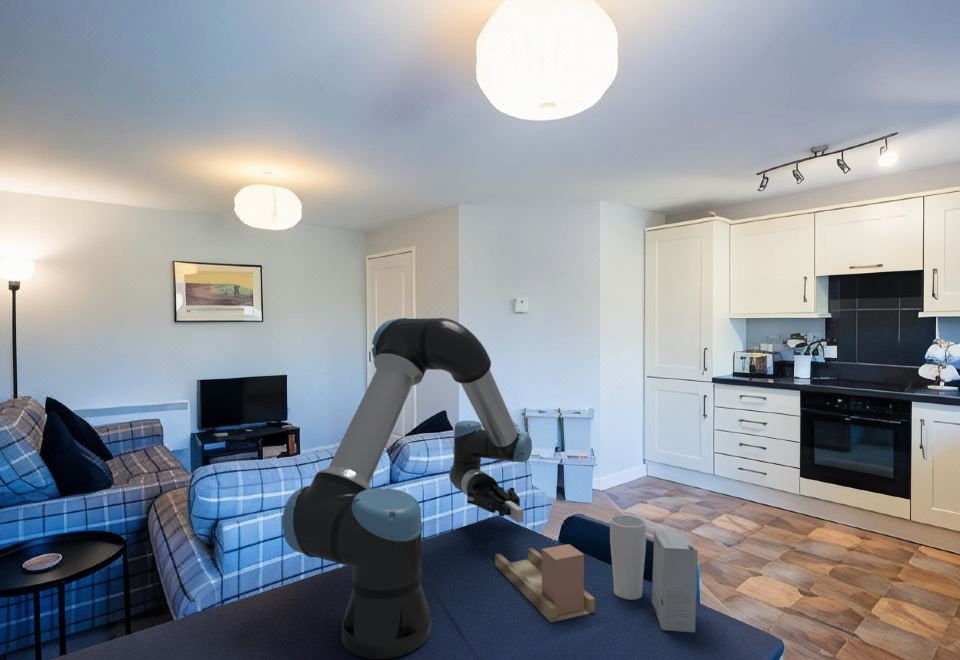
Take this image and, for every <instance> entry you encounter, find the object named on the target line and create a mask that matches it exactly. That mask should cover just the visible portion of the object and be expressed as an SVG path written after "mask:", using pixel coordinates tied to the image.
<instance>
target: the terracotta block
mask: <svg viewBox="0 0 960 660" xmlns="http://www.w3.org/2000/svg"><path fill="white" fill-rule="evenodd" d="M541 555H542V594H544V595H545V596H546V597H547V598H548V599H549V600H550V601H551V602H552V603H553V604H554V605H555V606H556V607H557V615H562V614H566V613H570V612H574V611H579V610H583V609H584V590H585V554H584V553H583V552H582V551H580V550H579V549H577V548H576V547H574V546H573V545H571V543H567V544H563V545H556V546H551V547H545V548H541Z"/></svg>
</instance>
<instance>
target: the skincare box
mask: <svg viewBox="0 0 960 660" xmlns="http://www.w3.org/2000/svg"><path fill="white" fill-rule="evenodd" d="M653 534H654V535H653V558H652V560H653V561H652V585H651V586H652V587H651V590H652V591H651V603H652V605H653V608H654V610H655V611H654V613H655V615H656V617H657V620H658V623H659V625H660V628H661V630H662V631H669V632H670V631H672V632H681V633H682V632H683V633H696V618H697V617H696V614H697V613H696V611H697V587H698V586H697V585H698V584H697V583H698V553H699V551H698V549H697V548H696V547H695V545H694V544H693V542H692V539H691V538H689V536H687V534H686V532H684V531H683V530H668V529H667V530H665V529H653Z"/></svg>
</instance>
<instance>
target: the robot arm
mask: <svg viewBox="0 0 960 660" xmlns="http://www.w3.org/2000/svg"><path fill="white" fill-rule="evenodd" d="M374 333H375V334H374V335H373V338H372V342H371V343H372V346H373V347H372V348H371V353H372V357H373V365H374V368H375V372H374V374H373V376H372V378H371V380H370V383H369V384H368V387H367V389H366V390H365V392H364V395H363V396H362V399H361V401H360V403H359V405H358V407H357V409H356V411H355V413H354V415H353V416H352V417H353V418H352V419H351V421H350V422H349V424H348V426H347V429H346V431H345V433H344V435H343V437H342V439H341V441H340V443H339V445H338V447H337V449H336V452H335V453H334V455H333V458H331V461H330V463H329V466H328V467H327V468H324V469H321V470H319V471H317V472H316V474H315V476H314V478H313V480H312V481H311V484H310V485H306V486H302V487H300V488H299V489H298V490H297V489H296V490H295V491H294V492H293V493H292V494H291V496H290V497H289V498H288V499H287V501H286V504H285V505H284V506H285V507H284V509H283V512H282V518H281V526H282V527H281V528H282V530H283V537H284V540H285V542H286V544H287V545H288V546H289V548H291V549H292V550H294V551H295V552H298V553H300V554H303V555H305V556H307V557H308V558H318V559H322V560H326V561H329V562H333V563H336V564H340V565H344V566H347V567H351V568H352V589H351V594H350V598H349V601H348V603H347V606H346V610H345V613H344V616H343V619H342V623H341V642H342V645H343V647H344V648H345V649H346V650H347V651H349V653H351V654H353V655H355V656H357V657H359V658H365V659H371V660H386V659H394V658H397V657H402V656H404V655H407V654H410V653H412V652H414V651H416V650H417V649H419V648H421V647H422V646H423V645H424V644H425V643H426V642H427V641H428V639H429V637H430V635H431V632H432V617H431V615H432V614H431V611H430V609H429V608H430V607H429V605H428V601H427V599H426V596H425V593H424V589H423V586H422V531H423V521H422V513H421V511H422V510H421V506H420V504H419V502H418V500H417V499H416V498H415V497H414V496H412V495H411V494H410V493H407V492H404V491H402V490H399V489H395V488H388V487H387V488H380V487H375V488H371V486H370V483H371V481H372V478H373V477H374V474H375V472H376V469H377V467H378V465H379V462H380V460H381V458H382V455H383V454H384V451H385V449H386V447H387V445H388V442H389V440H390V437H391V435H392V432H393V430H394V428H395V426H396V423H397V422H398V418H399V416H400V415H401V412H402V410H403V409H404V408H403V407H404V405H405V403H406V400H407V398H408V396H409V393H410V392H411V389H412V387H413V386H415V385H419V384H420V383H422V380H423V378H424V376H425V373H426V371H428V370H435V371H437V370H438V371H439V370H441V371H444V372H447V373H448V374H450V375H451V377H452V379H453V380H454V381H455V382H456V383H458V384H460V385H461V387H462V388H463V391H464V392H465V394H466V396H467V399H468V400H469V402H470V404H471V407H472V408H473V409H474V410H473V411H475V414H476V416H477V418H478V419H479V421H476V420H461V421H457V422H456V423H455V424H454V431H453V432H454V434H453V453H454V454H453V464H452V465H451V467H450V469H449V472H448V474H449V475H448V477H449V480H450V482H451V483H452V485H453V486H454V487H455V489H457V490H459V491H461V492H462V493H463V495H466V498H467V501H466V503H467V504H470V505H474V506H475V507H478V508H480V509H483V510H484V511H488V512H489V513H491V514H495V513H496V512H498V516H499V517H504V515H505V516H508V517H509V518H510V519H512V520H513V521H515V523H523V522H524V508H522V507H521V506H520V505H521V503H520V501H521V498H520V497H519V496H518V495H517V493H516V491H515V487H509V488H507V489H505V488H504V487H501V486H499V484H498V481H497V480H495V478H493V477H492V476H491V475H489V474H487V473H486V472H484V471H482V470H481V461H482V458H483V459H488V460H489V459H490V460H497V461H505V462H511V463H526V462H528V461H529V460H530V458H531V455H532V451H533V450H532V449H533V441H532V437H531V436H530V435H529V434H527V433H523V432H519V431H518V430H517V428H516V425H515V423H514V422H513V421H514V420H513V419H512V416H511V414H510V412H509V409H508V408H507V405H506V403H505V401H504V399H503V395H502V394H501V392H500V389H499V387H498V385H497V382H496V381H495V378H494V376H493V373H492V371H491V367H492V362H491V359H490V356H489V354H488V352H487V350H486V348H485V347H484V345H483V343H482V342H481V341H480V340H479V339H478V337H477V336H476V335H475V334H474V333H473V332H471V331H470V330H469V329H468V328H467V327H465V326H464V325H462V324H461V323H459V322H458V321H456V320H453V319H450V318H444V317H437V318H434V317H432V318H406V317H401V318H394V319H389V320H387V321H385V322H383V323H381V325H380V326H379V327H378V328H377V330H376V331H375V332H374Z"/></svg>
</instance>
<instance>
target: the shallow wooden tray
mask: <svg viewBox="0 0 960 660" xmlns="http://www.w3.org/2000/svg"><path fill="white" fill-rule="evenodd" d="M494 557H495V558H494V559H495V567H496V568H497V569H498V570H499V571H500V572H501V573H502V574H503V575H504V577H506V578H507V579H508V580H509V582H511V583H512V584H513V586H515V588H517V590H518V591H519V592H521V593H522V594H523V596H524V597H525V598H526V599H528V601H529V602H530V603H531V604H532V605H534V607H535V608H536V609H537V610H538V611H539V612H540V613H541V614H542V615H543V616H544V617H545V618H546V619H547V620H548V621H549V622H550V623H555V622H560V621H563V620H568V619H571V618H572V619H573V618H576V617H579V616H580V617H581V616H585V615H588V614H593V613H595V612H596V598H595V597H594V596H593V595H592V594H591V593H589V592H588V591H587V590H585V589H584V609H583V610H579V611H574V612H570V613H566V614H562V615H557V607H556V606H555V605H554V604H553V603H552V602H551V601H550V600H549V599H548V598H547V597H546V596H545V595H544V594H542V553H540V552H539V551H537V550H536V549H535V548H533V547H530V548H527V559H523V560H518V561H517V560H515V561H512V562H510V560H508V559H507V558H506V557H505V556H504V555H502V553H495V556H494Z"/></svg>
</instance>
